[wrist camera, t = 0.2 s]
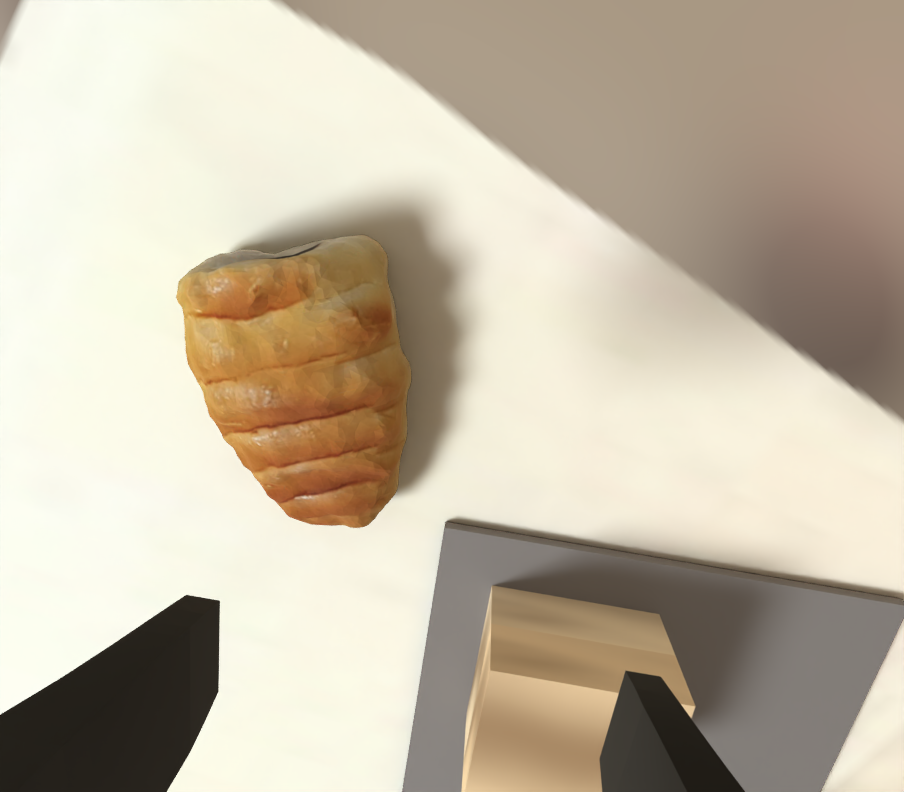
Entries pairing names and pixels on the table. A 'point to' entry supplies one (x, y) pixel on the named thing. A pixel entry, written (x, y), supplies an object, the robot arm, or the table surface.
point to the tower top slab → (550, 709)
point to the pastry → (304, 372)
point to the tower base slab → (568, 625)
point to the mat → (693, 641)
